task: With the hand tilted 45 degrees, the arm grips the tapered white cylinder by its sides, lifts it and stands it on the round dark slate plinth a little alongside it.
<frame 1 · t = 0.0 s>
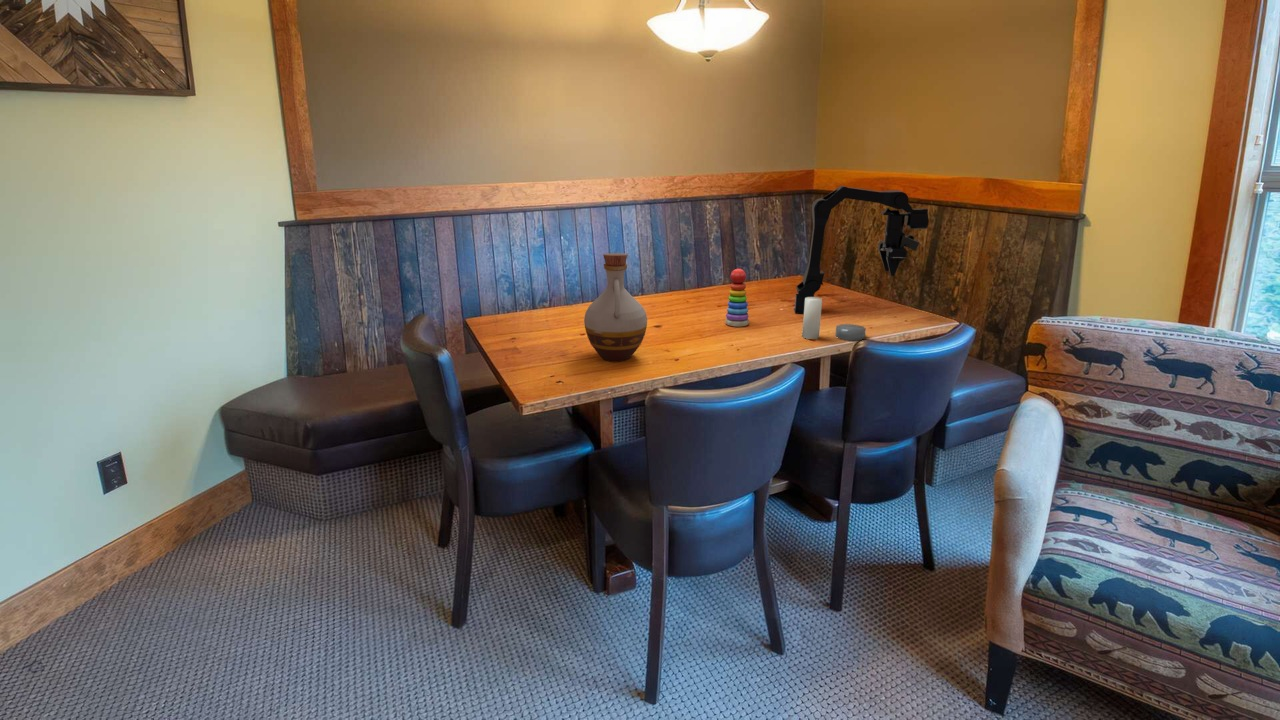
hand: (889, 273, 252), 15 cm above the table, tool pointing down, fingers open, 9 cm apart
plinth: (849, 337, 229), on the table
jug: (616, 359, 207), on the table
stacking toy: (737, 324, 243), on the table
tapered white cylinder: (810, 337, 228), on the table
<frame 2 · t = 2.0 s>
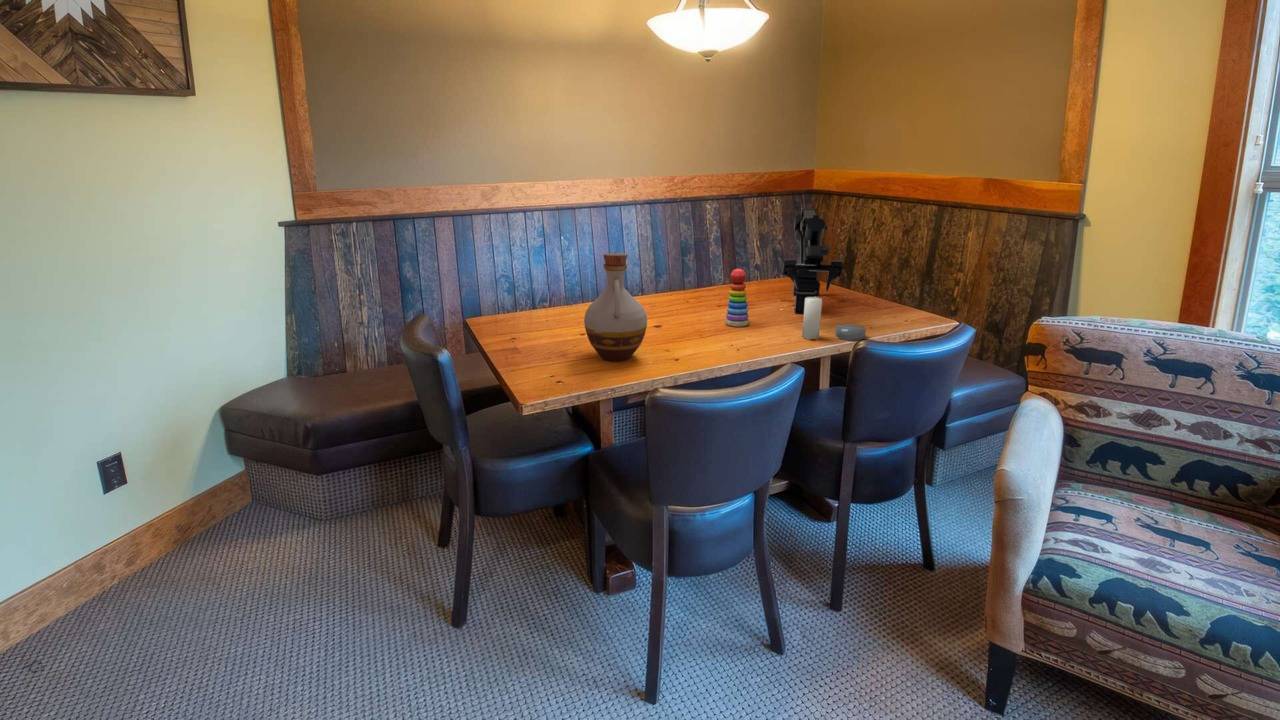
hand: (812, 290, 232), 13 cm above the table, tool tilted 45°, fingers open, 9 cm apart
nothing on the table moved.
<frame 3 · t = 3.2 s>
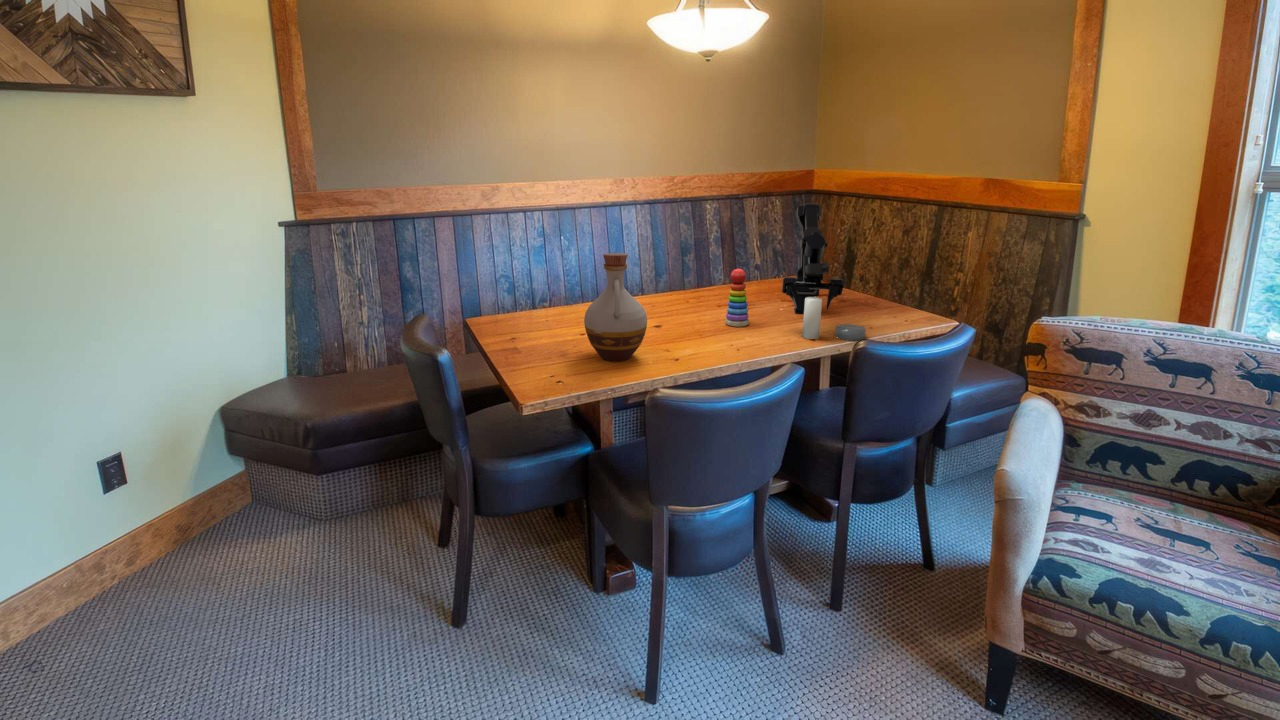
hand: (812, 308, 227), 9 cm above the table, tool tilted 45°, fingers open, 9 cm apart
nothing on the table moved.
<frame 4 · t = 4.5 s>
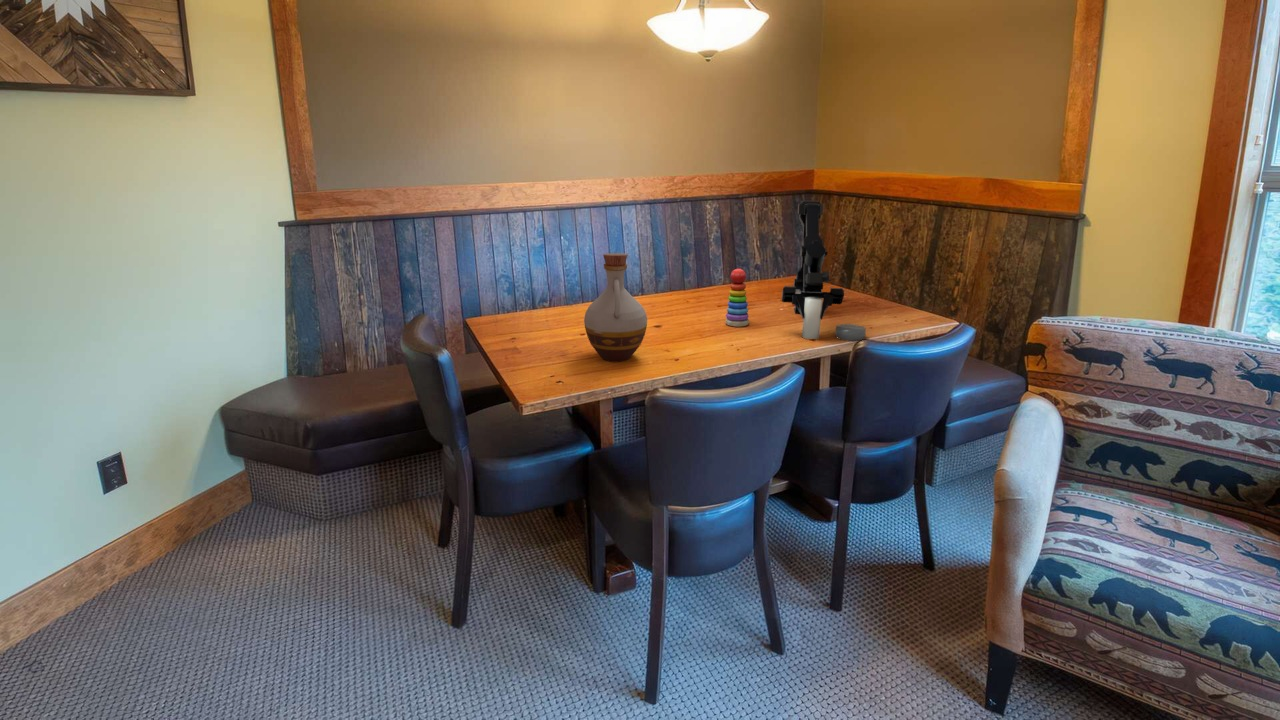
hand: (812, 318, 225), 7 cm above the table, tool tilted 45°, fingers closed on tapered white cylinder, 5 cm apart
tapered white cylinder: (810, 337, 228), on the table, touching gripper
everything else where it was.
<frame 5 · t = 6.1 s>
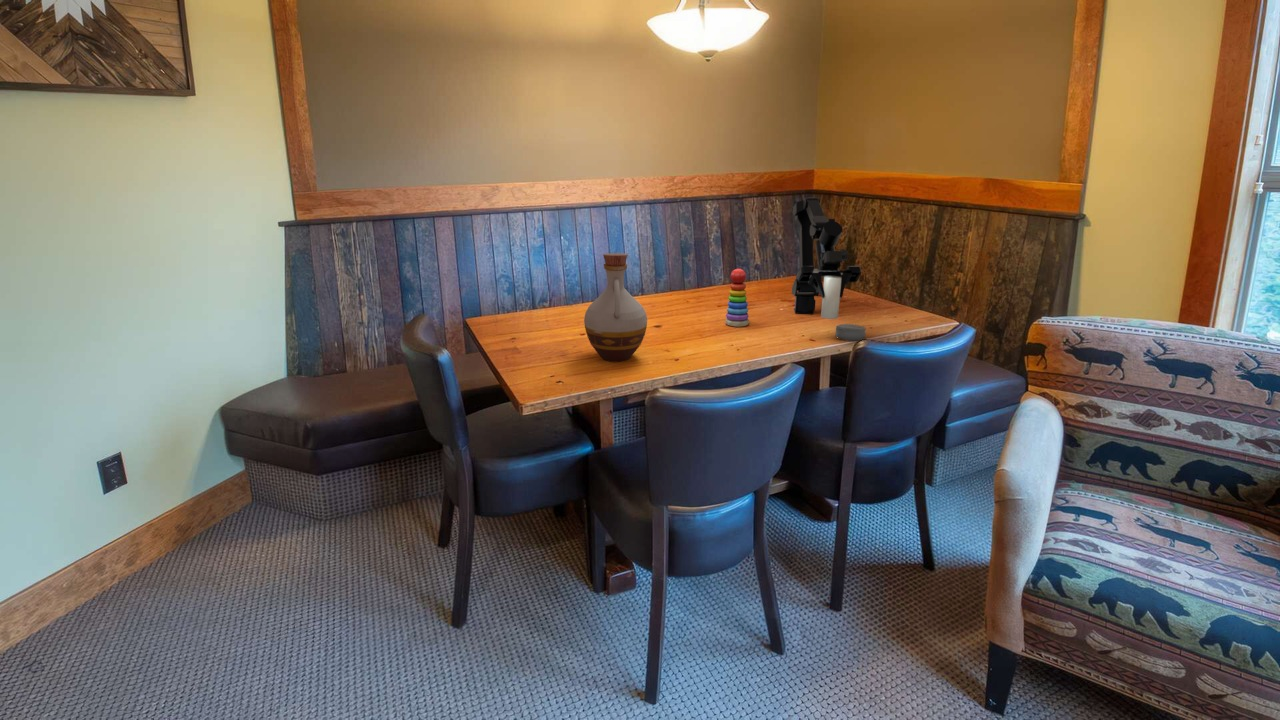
hand: (832, 297, 223), 13 cm above the table, tool tilted 45°, fingers closed on tapered white cylinder, 5 cm apart
tapered white cylinder: (829, 316, 226), point 7 cm above the table, touching gripper
everything else where it was.
when the fingers open (11 cm above the table, at t = 7.7 s): tapered white cylinder stays where it is, resting on plinth.
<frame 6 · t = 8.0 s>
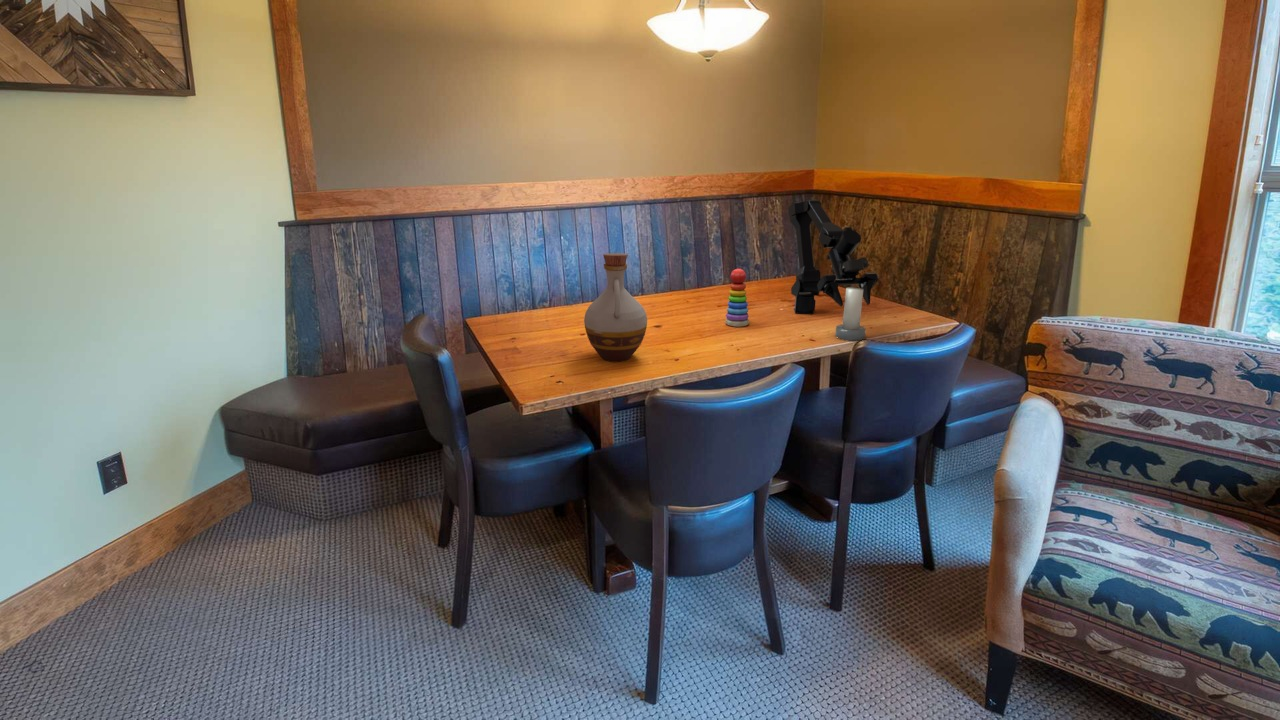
hand: (855, 304, 224), 11 cm above the table, tool tilted 45°, fingers open, 9 cm apart
tapered white cylinder: (850, 327, 228), point 3 cm above the table, touching plinth
everything else where it was.
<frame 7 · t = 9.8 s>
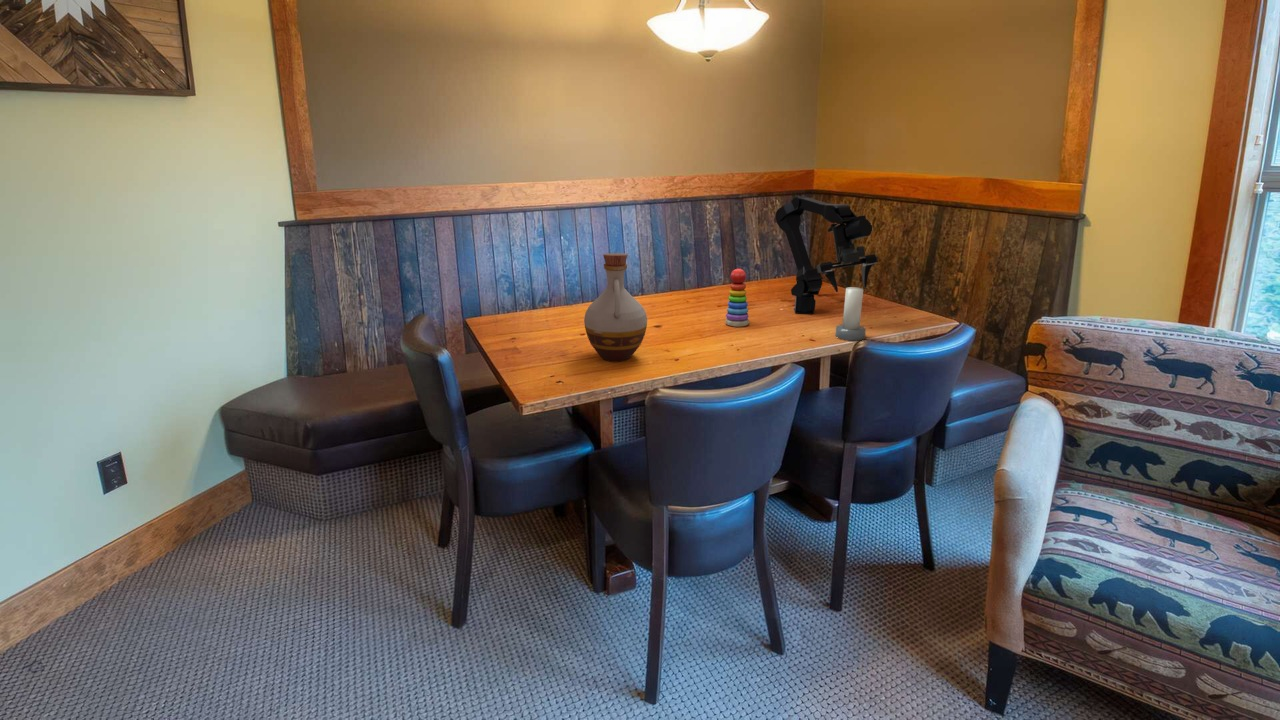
hand: (851, 289, 238), 12 cm above the table, tool tilted 20°, fingers open, 9 cm apart
nothing on the table moved.
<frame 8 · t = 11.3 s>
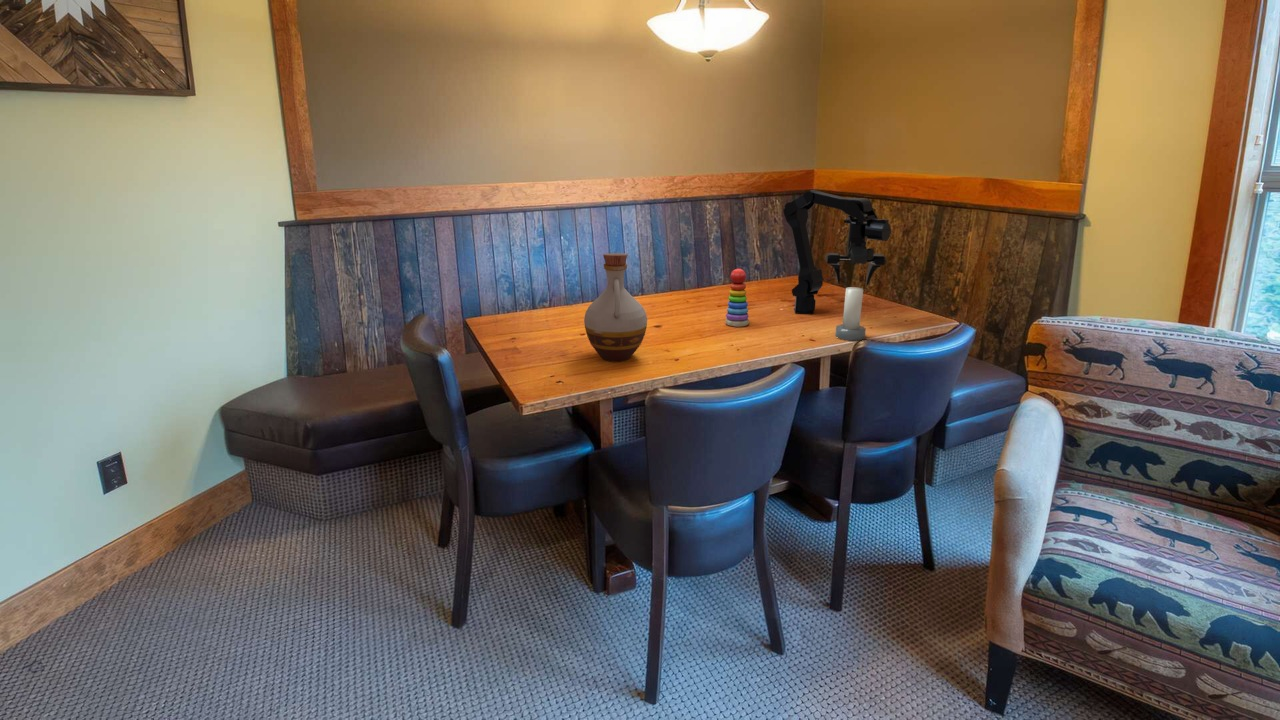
hand: (852, 284, 243), 13 cm above the table, tool pointing down, fingers open, 9 cm apart
nothing on the table moved.
at the end: tapered white cylinder 0.1 cm off-centre on the plinth, point 3.0 cm above the plinth's base; tapered white cylinder tilted 0°; the gripper is holding nothing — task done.
